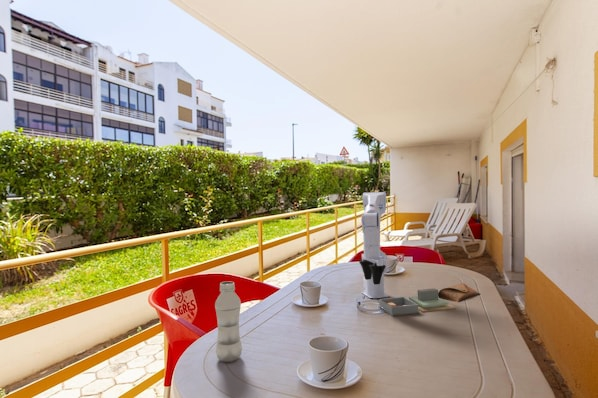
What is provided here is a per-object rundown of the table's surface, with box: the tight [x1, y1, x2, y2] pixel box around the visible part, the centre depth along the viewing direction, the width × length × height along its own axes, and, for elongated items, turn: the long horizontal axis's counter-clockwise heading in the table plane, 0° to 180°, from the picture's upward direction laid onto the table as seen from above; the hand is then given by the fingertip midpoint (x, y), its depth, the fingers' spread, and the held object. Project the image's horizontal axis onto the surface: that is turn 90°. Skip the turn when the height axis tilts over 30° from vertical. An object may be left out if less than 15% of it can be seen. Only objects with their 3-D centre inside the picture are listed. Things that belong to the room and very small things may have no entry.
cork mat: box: [418, 303, 456, 313], centre depth 131 cm, size 13×13×1 cm
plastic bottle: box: [214, 281, 243, 363], centre depth 92 cm, size 6×7×20 cm
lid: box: [408, 288, 449, 308], centre depth 131 cm, size 10×10×5 cm
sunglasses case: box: [438, 282, 481, 303], centre depth 142 cm, size 18×7×7 cm
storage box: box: [378, 296, 419, 317], centre depth 126 cm, size 10×10×3 cm
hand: (372, 281), depth 131 cm, fingers open, 7 cm apart
